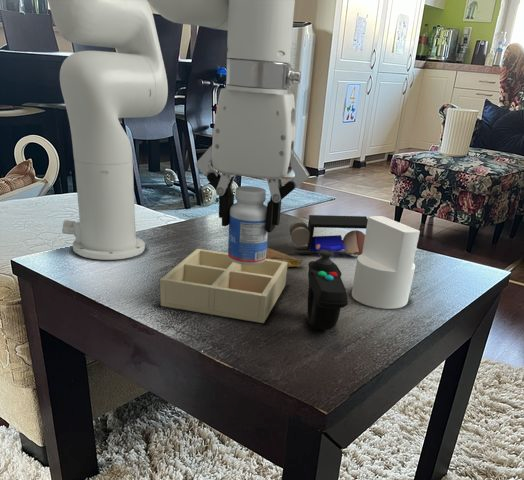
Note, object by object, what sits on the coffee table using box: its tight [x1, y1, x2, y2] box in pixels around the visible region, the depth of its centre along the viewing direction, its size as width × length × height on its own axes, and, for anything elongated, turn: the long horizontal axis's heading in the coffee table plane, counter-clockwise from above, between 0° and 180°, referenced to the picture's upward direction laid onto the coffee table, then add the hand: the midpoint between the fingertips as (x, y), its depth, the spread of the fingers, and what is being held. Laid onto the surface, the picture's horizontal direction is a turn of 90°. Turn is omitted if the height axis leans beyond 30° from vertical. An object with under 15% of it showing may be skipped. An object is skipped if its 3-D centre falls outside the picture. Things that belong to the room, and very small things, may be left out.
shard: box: [266, 247, 304, 268], centre depth 96 cm, size 11×8×2 cm
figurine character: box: [289, 214, 368, 257], centre depth 103 cm, size 7×8×15 cm
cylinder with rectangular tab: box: [351, 215, 421, 310], centre depth 83 cm, size 9×9×12 cm
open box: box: [159, 248, 288, 324], centre depth 81 cm, size 15×15×4 cm
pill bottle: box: [227, 185, 269, 265], centre depth 73 cm, size 6×5×10 cm
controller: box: [307, 250, 349, 331], centre depth 72 cm, size 4×12×10 cm, turn 3°
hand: (248, 225), depth 73 cm, fingers closed on pill bottle, 5 cm apart
